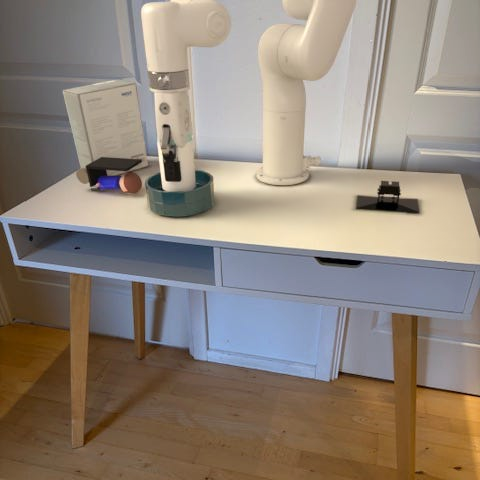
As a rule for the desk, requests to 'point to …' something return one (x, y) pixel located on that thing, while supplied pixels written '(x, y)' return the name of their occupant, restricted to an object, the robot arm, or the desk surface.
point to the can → (185, 166)
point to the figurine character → (98, 176)
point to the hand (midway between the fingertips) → (178, 173)
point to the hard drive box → (106, 122)
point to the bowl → (180, 196)
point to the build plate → (388, 200)
